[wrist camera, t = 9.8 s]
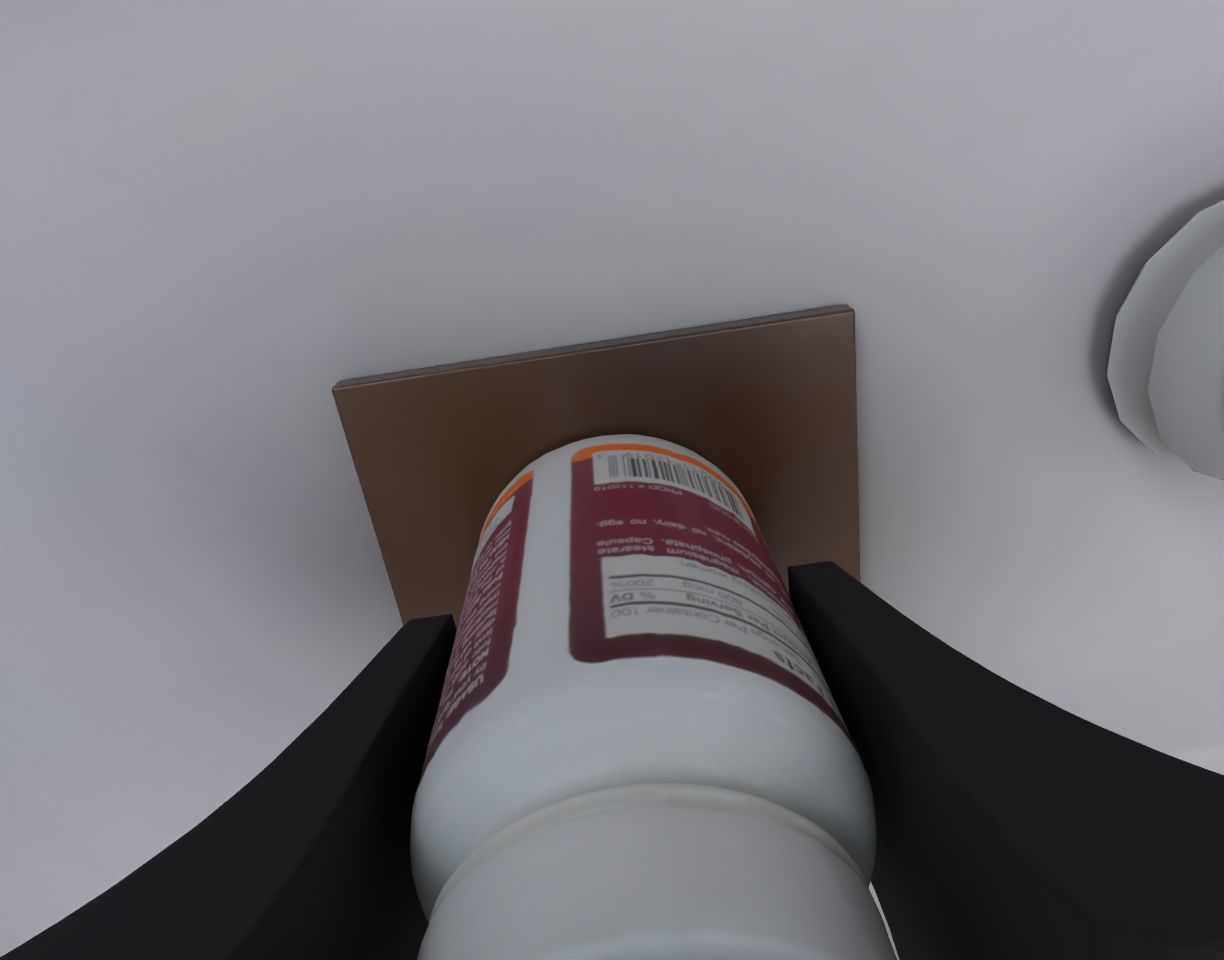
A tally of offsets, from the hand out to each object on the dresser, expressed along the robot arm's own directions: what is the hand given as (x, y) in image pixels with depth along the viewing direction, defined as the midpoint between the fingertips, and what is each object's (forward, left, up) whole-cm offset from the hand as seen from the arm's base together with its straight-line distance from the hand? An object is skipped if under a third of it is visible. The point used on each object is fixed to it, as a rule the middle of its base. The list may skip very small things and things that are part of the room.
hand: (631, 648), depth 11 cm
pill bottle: (0, 0, -3) cm, 3 cm away
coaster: (0, 0, -3) cm, 3 cm away
